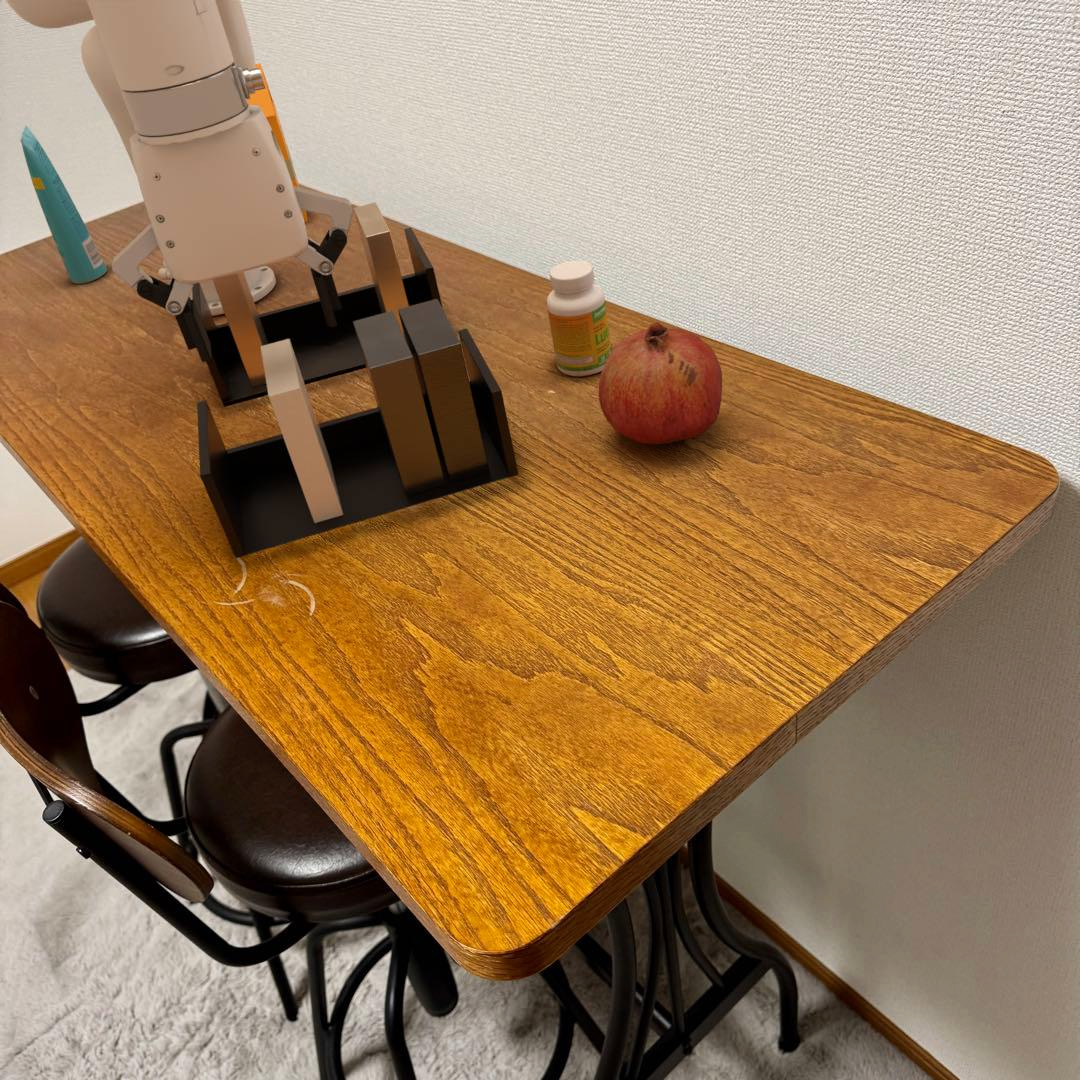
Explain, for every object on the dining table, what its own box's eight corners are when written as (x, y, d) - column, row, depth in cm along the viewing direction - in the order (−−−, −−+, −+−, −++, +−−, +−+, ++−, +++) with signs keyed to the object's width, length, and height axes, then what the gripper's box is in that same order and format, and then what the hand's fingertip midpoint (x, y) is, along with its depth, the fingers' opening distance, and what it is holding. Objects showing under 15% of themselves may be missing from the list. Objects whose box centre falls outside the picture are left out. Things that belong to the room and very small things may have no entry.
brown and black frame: (225, 411, 104) (178, 291, 96) (221, 360, 114) (177, 247, 106) (452, 348, 107) (424, 227, 99) (429, 304, 117) (402, 190, 109)
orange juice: (244, 218, 149) (194, 71, 137) (305, 203, 150) (260, 56, 138) (245, 237, 143) (193, 85, 131) (308, 221, 144) (262, 69, 132)
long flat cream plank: (314, 523, 85) (268, 396, 77) (303, 467, 92) (260, 346, 84) (343, 515, 85) (300, 387, 78) (330, 460, 92) (289, 338, 85)
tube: (70, 272, 143) (4, 130, 131) (105, 262, 144) (43, 119, 132) (72, 291, 137) (4, 143, 126) (109, 280, 138) (45, 133, 127)
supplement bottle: (608, 377, 98) (595, 281, 92) (552, 379, 99) (536, 284, 93) (616, 348, 102) (604, 254, 96) (562, 351, 103) (547, 258, 97)
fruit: (752, 435, 87) (748, 326, 81) (657, 484, 83) (645, 375, 77) (673, 389, 94) (664, 287, 88) (582, 433, 91) (566, 330, 85)
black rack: (239, 567, 83) (180, 430, 75) (232, 489, 93) (179, 360, 85) (520, 484, 86) (491, 343, 78) (486, 416, 96) (457, 285, 88)
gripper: (310, 62, 73) (372, 289, 83) (61, 122, 71) (156, 347, 81) (321, 85, 67) (387, 326, 77) (50, 150, 65) (155, 389, 75)
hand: (269, 336), depth 79 cm, fingers open, 9 cm apart
